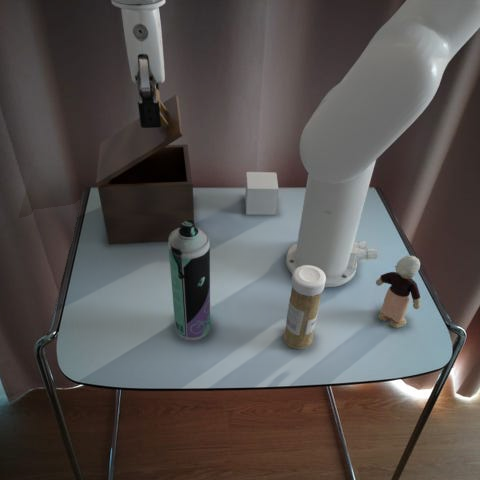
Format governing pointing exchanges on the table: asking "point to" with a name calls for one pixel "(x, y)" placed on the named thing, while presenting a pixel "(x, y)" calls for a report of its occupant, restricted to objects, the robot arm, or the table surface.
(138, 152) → the lid
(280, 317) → the table surface
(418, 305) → the grandmother figurine
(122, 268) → the table surface
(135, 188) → the chest
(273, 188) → the white cube
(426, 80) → the robot arm
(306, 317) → the sprinkles bottle
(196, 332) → the spray can
